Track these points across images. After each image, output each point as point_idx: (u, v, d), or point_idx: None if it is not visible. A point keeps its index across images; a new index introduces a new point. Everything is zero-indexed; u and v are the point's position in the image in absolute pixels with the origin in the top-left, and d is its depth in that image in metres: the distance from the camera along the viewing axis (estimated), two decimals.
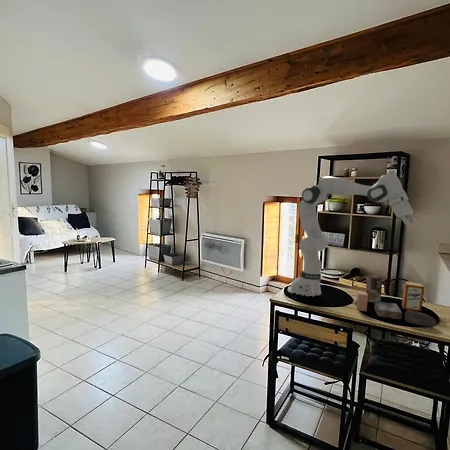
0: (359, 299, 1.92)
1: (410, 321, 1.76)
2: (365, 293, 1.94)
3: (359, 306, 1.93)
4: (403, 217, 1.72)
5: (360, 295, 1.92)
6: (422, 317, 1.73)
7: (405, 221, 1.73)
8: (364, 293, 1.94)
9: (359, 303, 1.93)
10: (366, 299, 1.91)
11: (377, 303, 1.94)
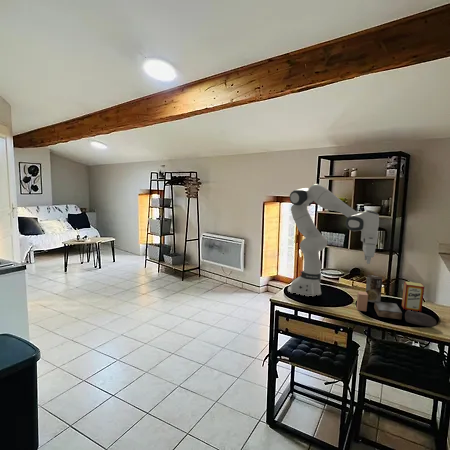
0: (359, 299, 1.92)
1: (410, 321, 1.76)
2: (365, 293, 1.94)
3: (359, 306, 1.93)
4: (369, 257, 1.84)
5: (360, 295, 1.92)
6: (422, 317, 1.73)
7: (368, 261, 1.85)
8: (364, 293, 1.94)
9: (359, 303, 1.93)
10: (366, 299, 1.91)
11: (377, 303, 1.94)
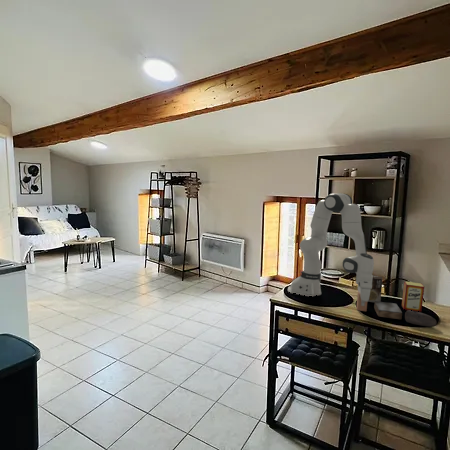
0: (359, 299, 1.92)
1: (410, 321, 1.76)
2: None
3: (359, 306, 1.93)
4: None
5: None
6: (422, 317, 1.73)
7: (363, 303, 1.91)
8: None
9: (359, 303, 1.93)
10: None
11: (377, 303, 1.94)
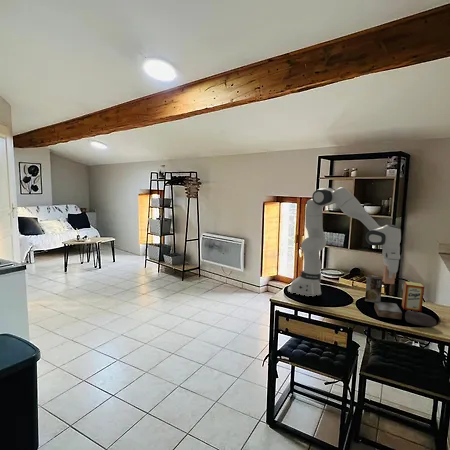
0: (386, 271, 1.85)
1: (410, 321, 1.76)
2: None
3: (386, 279, 1.86)
4: None
5: None
6: (422, 317, 1.73)
7: (390, 275, 1.84)
8: None
9: (386, 276, 1.86)
10: None
11: (377, 303, 1.94)
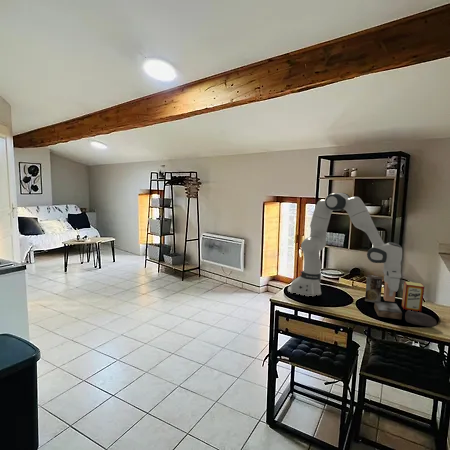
0: (387, 289, 1.87)
1: (410, 321, 1.76)
2: None
3: (387, 296, 1.87)
4: None
5: None
6: (422, 317, 1.73)
7: (391, 293, 1.85)
8: None
9: (387, 293, 1.87)
10: None
11: (377, 303, 1.94)
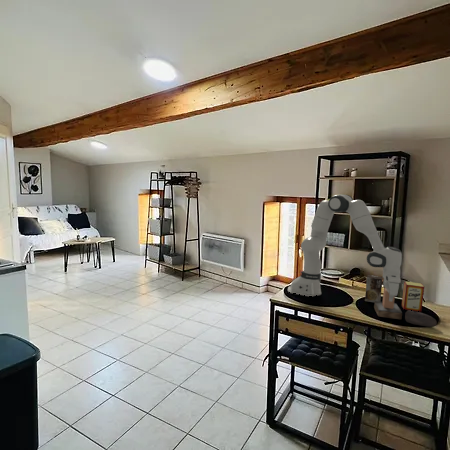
0: (386, 296, 1.87)
1: (410, 321, 1.76)
2: None
3: (386, 303, 1.88)
4: (392, 295, 1.83)
5: (387, 292, 1.87)
6: (422, 317, 1.73)
7: (391, 298, 1.84)
8: None
9: (386, 300, 1.87)
10: None
11: (377, 303, 1.94)
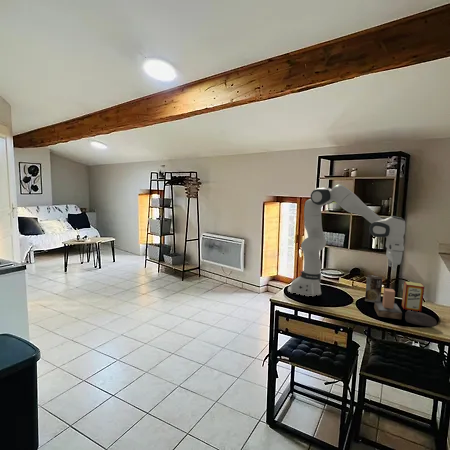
0: (386, 296, 1.87)
1: (410, 321, 1.76)
2: (392, 290, 1.88)
3: (386, 303, 1.88)
4: (395, 264, 1.80)
5: (387, 292, 1.87)
6: (422, 317, 1.73)
7: (394, 268, 1.81)
8: (391, 290, 1.88)
9: (386, 300, 1.87)
10: (393, 296, 1.86)
11: (377, 303, 1.94)
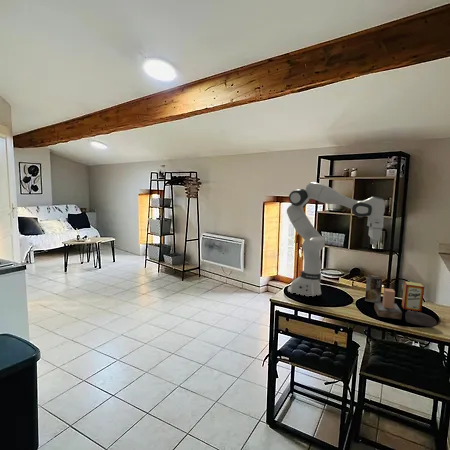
0: (386, 296, 1.87)
1: (410, 321, 1.76)
2: (392, 290, 1.88)
3: (386, 303, 1.88)
4: (375, 241, 1.93)
5: (387, 292, 1.87)
6: (422, 317, 1.73)
7: (374, 244, 1.95)
8: (391, 290, 1.88)
9: (386, 300, 1.87)
10: (393, 296, 1.86)
11: (377, 303, 1.94)
